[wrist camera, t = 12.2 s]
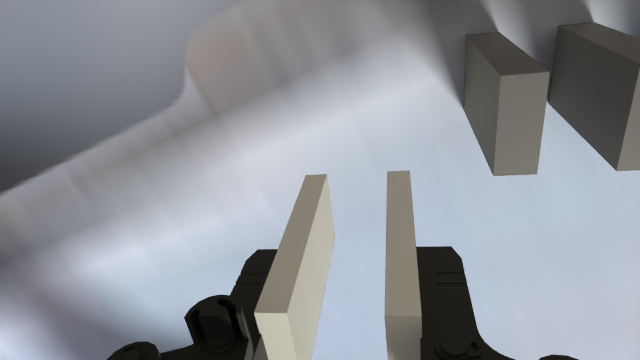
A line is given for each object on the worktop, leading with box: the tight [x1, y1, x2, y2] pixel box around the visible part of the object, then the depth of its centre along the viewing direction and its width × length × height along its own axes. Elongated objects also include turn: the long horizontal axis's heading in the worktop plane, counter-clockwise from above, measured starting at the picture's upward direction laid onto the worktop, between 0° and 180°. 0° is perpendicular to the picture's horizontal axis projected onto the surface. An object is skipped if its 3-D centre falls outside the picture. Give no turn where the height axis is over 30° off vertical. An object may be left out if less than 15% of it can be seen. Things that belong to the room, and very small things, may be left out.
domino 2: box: [548, 22, 640, 171], centre depth 23 cm, size 2×5×10 cm, turn 7°
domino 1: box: [463, 32, 550, 176], centre depth 24 cm, size 2×5×10 cm, turn 7°
